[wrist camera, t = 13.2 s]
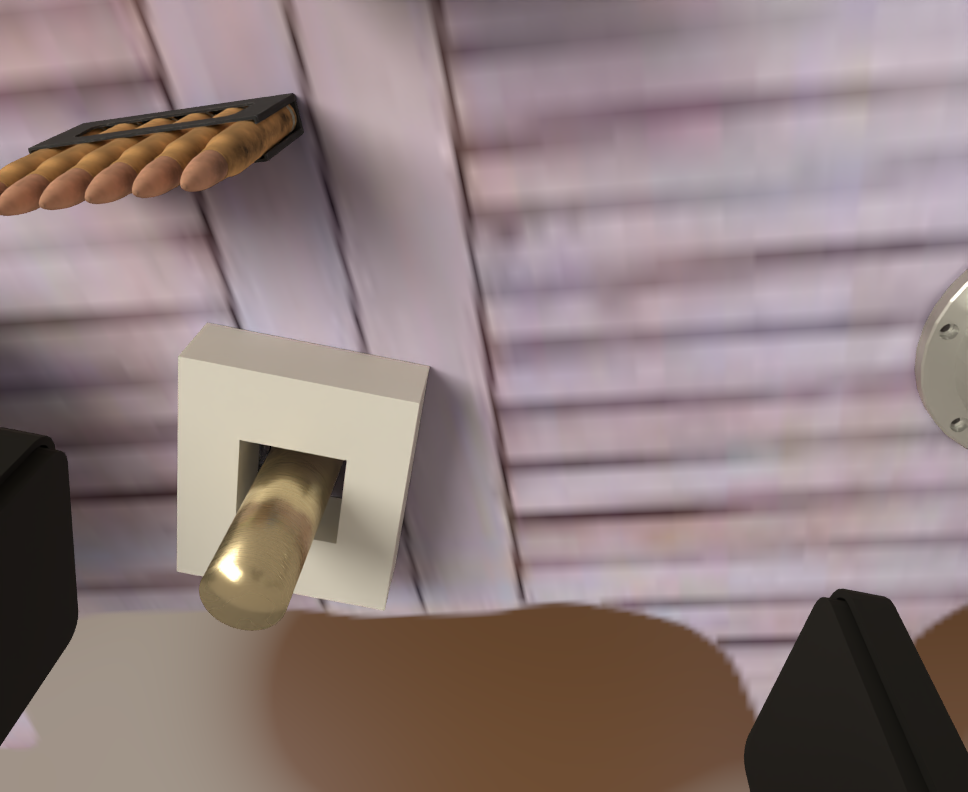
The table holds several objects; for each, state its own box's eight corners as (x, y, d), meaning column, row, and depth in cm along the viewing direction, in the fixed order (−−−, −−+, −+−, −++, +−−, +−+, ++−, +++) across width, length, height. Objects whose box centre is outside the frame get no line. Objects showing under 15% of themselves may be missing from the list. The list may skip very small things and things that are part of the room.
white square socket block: (429, 366, 46) (419, 403, 42) (395, 564, 52) (384, 610, 49) (207, 322, 45) (178, 356, 42) (201, 528, 52) (176, 571, 49)
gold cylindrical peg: (347, 430, 48) (290, 572, 38) (340, 487, 50) (284, 637, 39) (277, 416, 48) (199, 555, 37) (272, 474, 50) (198, 621, 39)
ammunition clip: (93, 162, 42) (-61, 244, 31) (79, 123, 41) (-85, 195, 30) (304, 133, 40) (217, 209, 30) (295, 92, 39) (201, 156, 29)
